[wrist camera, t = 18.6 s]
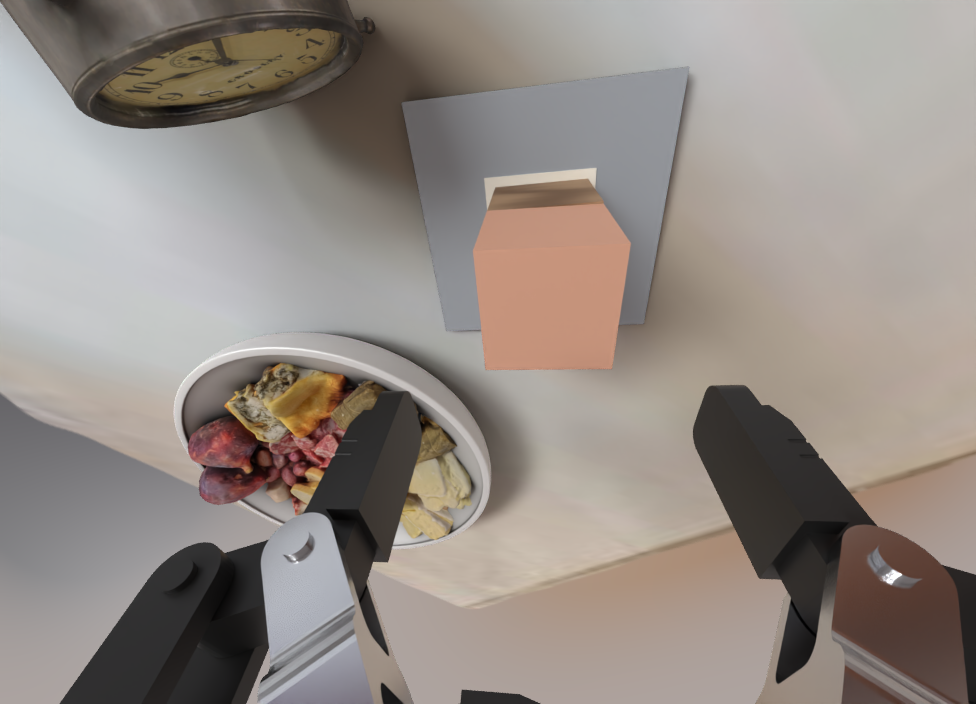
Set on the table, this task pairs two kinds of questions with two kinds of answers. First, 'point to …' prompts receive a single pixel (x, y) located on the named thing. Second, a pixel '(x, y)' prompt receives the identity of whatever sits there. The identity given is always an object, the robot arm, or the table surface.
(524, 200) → the walnut block
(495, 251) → the terracotta block
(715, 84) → the table surface
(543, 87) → the grey square plate
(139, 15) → the alarm clock
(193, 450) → the bowl
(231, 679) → the robot arm
